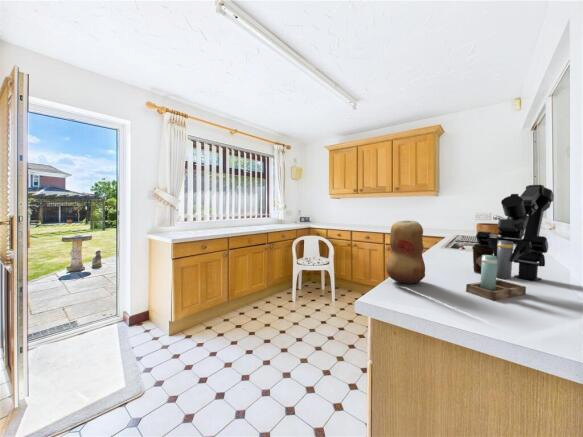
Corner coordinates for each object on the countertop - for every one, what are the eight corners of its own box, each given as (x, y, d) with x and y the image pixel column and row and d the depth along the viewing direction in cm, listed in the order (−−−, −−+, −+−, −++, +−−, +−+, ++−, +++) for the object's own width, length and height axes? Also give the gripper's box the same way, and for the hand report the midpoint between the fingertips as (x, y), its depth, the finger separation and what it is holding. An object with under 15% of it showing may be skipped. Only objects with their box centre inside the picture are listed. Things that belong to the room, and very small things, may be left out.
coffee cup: (499, 275, 107) (501, 246, 106) (480, 275, 108) (481, 246, 107) (484, 270, 116) (485, 242, 115) (466, 270, 116) (467, 242, 115)
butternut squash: (383, 286, 94) (385, 221, 92) (387, 276, 106) (389, 218, 104) (425, 292, 87) (427, 222, 86) (424, 281, 99) (426, 220, 98)
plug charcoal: (495, 275, 89) (497, 239, 88) (511, 277, 86) (513, 241, 85) (495, 278, 85) (497, 241, 85) (511, 280, 83) (513, 242, 82)
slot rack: (496, 288, 92) (497, 279, 91) (526, 297, 83) (527, 286, 83) (464, 294, 86) (465, 284, 86) (493, 304, 77) (493, 293, 77)
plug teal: (485, 291, 86) (487, 254, 85) (498, 295, 82) (500, 257, 81) (477, 292, 84) (478, 255, 84) (490, 297, 81) (492, 257, 80)
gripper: (478, 210, 94) (465, 241, 89) (548, 211, 79) (537, 249, 73) (485, 229, 99) (473, 260, 94) (552, 234, 84) (542, 271, 78)
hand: (503, 260), depth 84 cm, fingers closed on plug charcoal, 4 cm apart
